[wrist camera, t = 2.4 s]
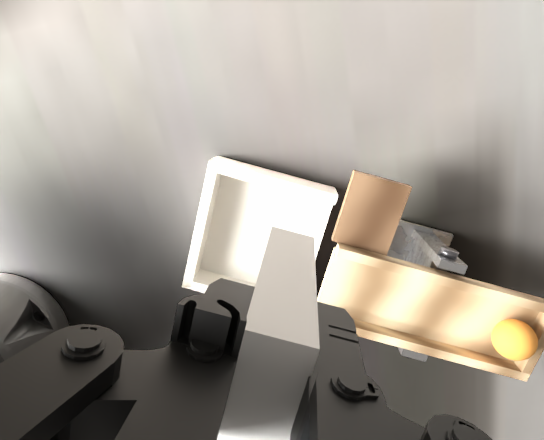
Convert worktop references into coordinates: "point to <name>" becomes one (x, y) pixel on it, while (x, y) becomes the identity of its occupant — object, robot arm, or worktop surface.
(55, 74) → the worktop surface
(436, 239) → the stand
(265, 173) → the dish
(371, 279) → the lever
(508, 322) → the ball
